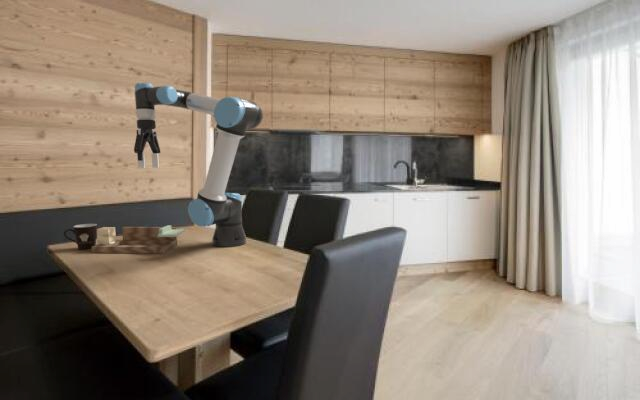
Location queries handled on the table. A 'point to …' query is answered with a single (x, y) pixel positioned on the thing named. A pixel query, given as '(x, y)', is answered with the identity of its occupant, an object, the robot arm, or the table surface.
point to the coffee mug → (84, 236)
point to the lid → (169, 231)
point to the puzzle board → (138, 242)
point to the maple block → (106, 235)
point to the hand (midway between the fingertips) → (148, 168)
